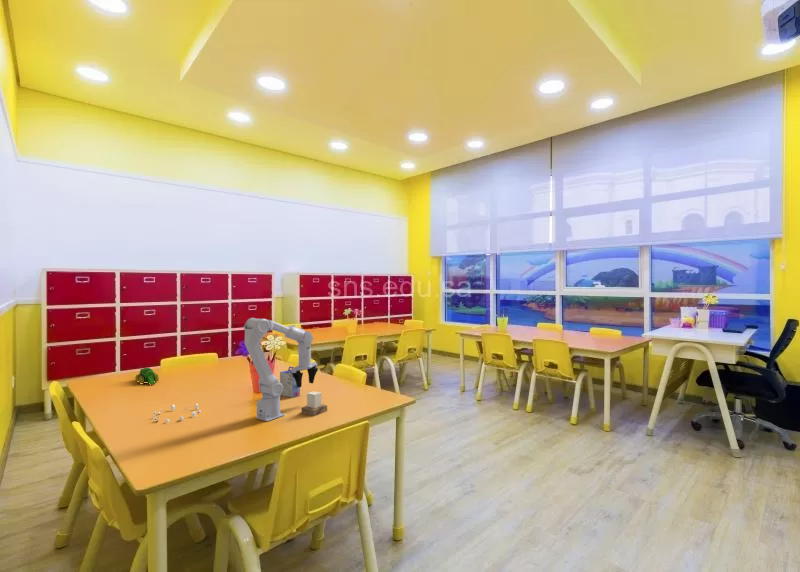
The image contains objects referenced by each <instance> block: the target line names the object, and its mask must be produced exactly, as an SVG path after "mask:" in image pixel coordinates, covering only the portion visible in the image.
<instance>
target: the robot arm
mask: <svg viewBox="0 0 800 572" xmlns="http://www.w3.org/2000/svg"><path fill="white" fill-rule="evenodd" d="M243 329H244V330H243V331H244V346H245V348H246V350H247V352H248V355H249V356H250V359H251V361H252V363H253V366H254V368H255V370H256V372H257V375H258V376H259V379H258V381H257V382H258V384H259V385H258V388H259V392H260V393H261V396H262V397H261V398H260V399H259V400H257V402H256V416H255V419H257V420H261V421H265V422H270V421H273V420H275V419H277V418H281V417H284V416H285V415H286V414H285V413H282V412H281V396H282V395H281V393H282V391H283V385H282V384H281V383H280V380H279V379H278V377H277V376H275V375H274V374H273V372H272V369H271V367H270V365H269V362H268V360H267V357H266V355H265V353H264V350H263V348H262V346H261V344H260V342H261V340H262V339H263V338H264V337H265V335H266V334H267V333H268V332H271V331H275V332H278V333H282V334H284V337H285V338H287V339H290V340H293V341H296V343H298V345H297V346H298V349H297V350H298V352H297V353H298V365H297V366H294V368H291V370H292V375H293V376H294V378H295V381H296V384H297V387H300V388H302V386H303V385H302V384H303V383H302V380H303V375H304V372H302V371H305V370H307V375H308V382H309V383H308V384H314V381H315V377H316V375H317V372H318V371H319V367H318V362H312V348H311V347H312V342H313V341H314V336H313V334H312V332H311V331H308V330H305V329H304V328H299V327H297V326H296V324H293V325H288V326H286V325H283V324H281V323H278V322H276V321H273V320H271V319H266V318H255V317H250V318H248V319H247V320H246V321H245V324H244V325H243Z"/></svg>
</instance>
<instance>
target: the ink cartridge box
mask: <svg viewBox="0 0 800 572" xmlns="http://www.w3.org/2000/svg"><path fill="white" fill-rule="evenodd" d="M292 368H295V366H288V369H287V370H283V371H280V372H279V382H280V383H281V384H282V385H283V391H282V393H281V395H280V396H283V397H288V398H295V397H300V396H301V387H297V384H296V381H295V378H294V376H293V375H292Z"/></svg>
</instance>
